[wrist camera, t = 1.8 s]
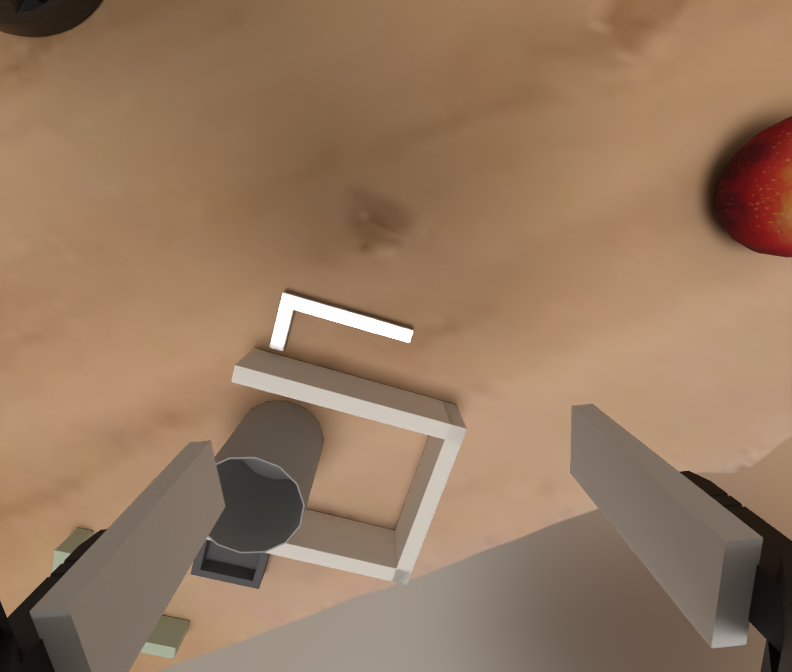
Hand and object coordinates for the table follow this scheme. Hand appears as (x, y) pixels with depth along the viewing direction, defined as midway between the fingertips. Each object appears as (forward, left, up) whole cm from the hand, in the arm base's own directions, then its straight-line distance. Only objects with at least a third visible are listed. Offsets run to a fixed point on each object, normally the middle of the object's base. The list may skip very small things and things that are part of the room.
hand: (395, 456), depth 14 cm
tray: (-8, -26, -23) cm, 36 cm away
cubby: (-1, -14, -23) cm, 27 cm away
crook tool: (-4, -2, -23) cm, 23 cm away
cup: (-7, -14, -23) cm, 28 cm away
